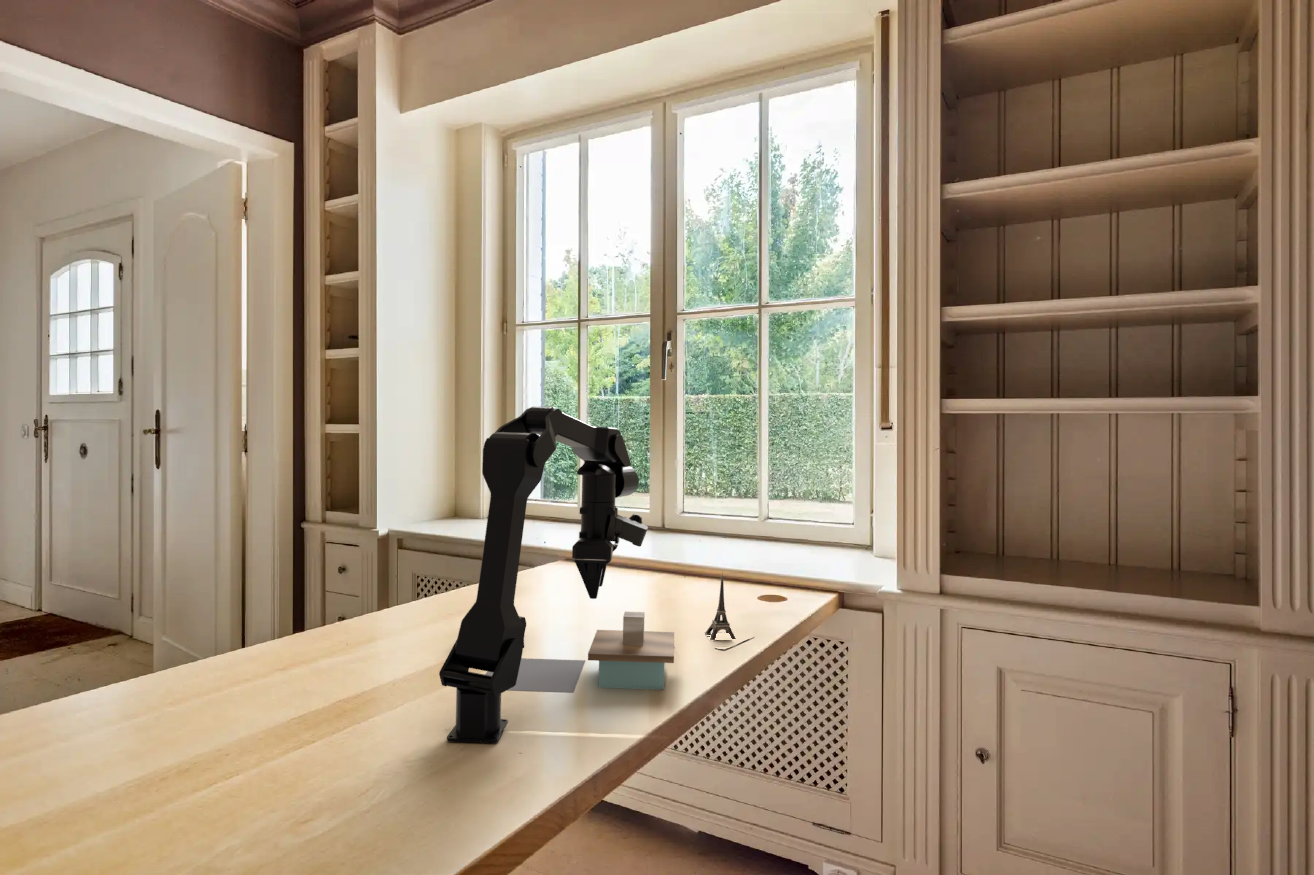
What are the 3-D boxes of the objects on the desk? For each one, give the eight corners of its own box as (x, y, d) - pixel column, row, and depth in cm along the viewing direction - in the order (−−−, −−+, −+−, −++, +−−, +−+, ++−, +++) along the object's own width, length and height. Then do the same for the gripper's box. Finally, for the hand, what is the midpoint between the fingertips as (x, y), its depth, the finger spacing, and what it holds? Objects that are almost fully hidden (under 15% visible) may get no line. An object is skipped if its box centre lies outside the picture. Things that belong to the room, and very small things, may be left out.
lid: (673, 663, 111) (674, 626, 111) (587, 660, 112) (588, 624, 111) (674, 638, 124) (674, 605, 124) (597, 635, 124) (597, 603, 124)
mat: (573, 695, 111) (573, 692, 111) (474, 691, 111) (474, 689, 111) (585, 662, 126) (585, 660, 126) (497, 659, 126) (497, 657, 126)
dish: (663, 692, 113) (664, 659, 113) (598, 689, 113) (599, 657, 113) (664, 670, 123) (665, 640, 123) (604, 668, 123) (605, 638, 123)
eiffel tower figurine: (724, 654, 134) (726, 581, 134) (678, 643, 140) (680, 573, 140) (763, 636, 146) (765, 569, 146) (720, 627, 152) (722, 562, 152)
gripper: (643, 508, 116) (641, 607, 116) (647, 496, 135) (645, 581, 135) (572, 506, 116) (570, 605, 117) (586, 495, 135) (584, 580, 135)
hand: (596, 592), depth 126 cm, fingers open, 9 cm apart
